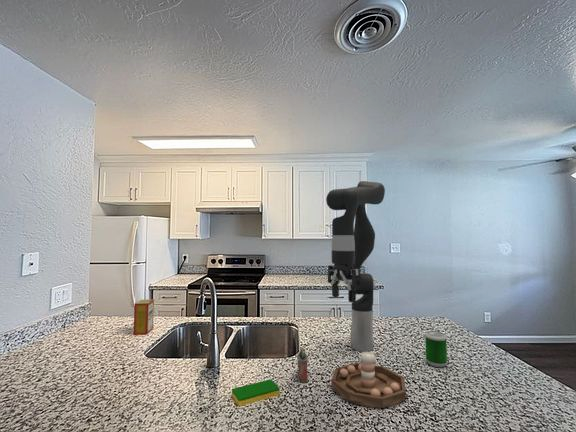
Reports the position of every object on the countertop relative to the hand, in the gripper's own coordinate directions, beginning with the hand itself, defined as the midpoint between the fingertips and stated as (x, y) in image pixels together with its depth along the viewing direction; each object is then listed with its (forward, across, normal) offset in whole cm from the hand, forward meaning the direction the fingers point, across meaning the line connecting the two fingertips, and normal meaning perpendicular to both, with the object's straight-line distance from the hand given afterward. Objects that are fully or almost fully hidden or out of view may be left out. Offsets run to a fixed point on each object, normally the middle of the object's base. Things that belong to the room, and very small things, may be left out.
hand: (343, 299), depth 97 cm
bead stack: (+29, 0, -10) cm, 31 cm away
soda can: (+30, +2, -47) cm, 56 cm away
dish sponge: (+31, +13, +25) cm, 42 cm away
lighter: (+30, +16, +6) cm, 35 cm away
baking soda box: (+30, +97, +55) cm, 116 cm away
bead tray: (+30, 0, -10) cm, 32 cm away
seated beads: (+30, 0, -10) cm, 32 cm away
